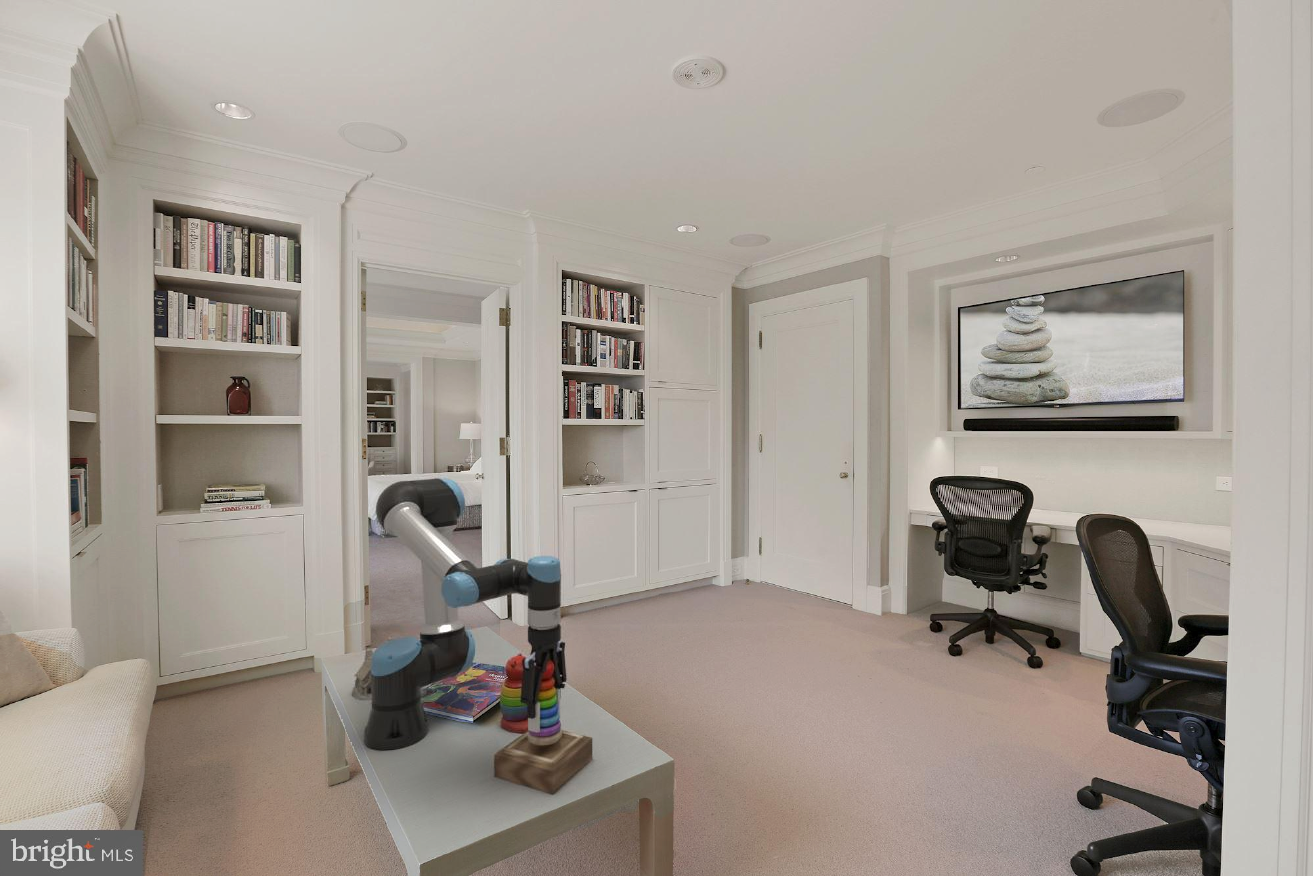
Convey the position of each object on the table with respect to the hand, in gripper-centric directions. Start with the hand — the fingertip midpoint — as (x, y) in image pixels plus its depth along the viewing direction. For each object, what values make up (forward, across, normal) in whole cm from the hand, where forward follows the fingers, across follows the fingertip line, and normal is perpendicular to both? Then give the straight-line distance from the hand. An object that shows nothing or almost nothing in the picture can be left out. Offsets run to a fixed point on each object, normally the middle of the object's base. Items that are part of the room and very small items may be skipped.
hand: (544, 723), depth 144 cm
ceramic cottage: (+11, +13, +67) cm, 69 cm away
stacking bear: (+11, +15, +19) cm, 26 cm away
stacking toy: (+4, 0, 0) cm, 4 cm away
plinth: (+10, 0, 0) cm, 10 cm away
